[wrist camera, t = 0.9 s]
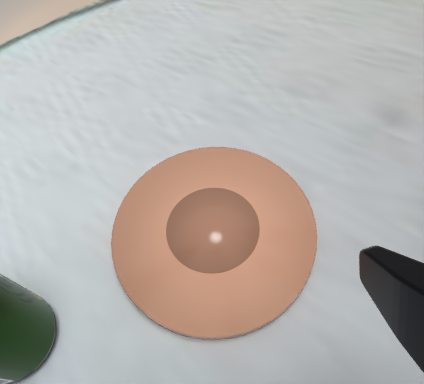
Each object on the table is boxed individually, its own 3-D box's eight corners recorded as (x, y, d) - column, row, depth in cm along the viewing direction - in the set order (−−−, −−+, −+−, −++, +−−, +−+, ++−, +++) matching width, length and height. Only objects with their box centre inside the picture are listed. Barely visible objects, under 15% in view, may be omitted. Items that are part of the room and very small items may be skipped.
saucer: (280, 377, 21) (282, 375, 20) (78, 291, 25) (71, 285, 24) (334, 185, 28) (338, 175, 27) (168, 137, 31) (165, 127, 30)
